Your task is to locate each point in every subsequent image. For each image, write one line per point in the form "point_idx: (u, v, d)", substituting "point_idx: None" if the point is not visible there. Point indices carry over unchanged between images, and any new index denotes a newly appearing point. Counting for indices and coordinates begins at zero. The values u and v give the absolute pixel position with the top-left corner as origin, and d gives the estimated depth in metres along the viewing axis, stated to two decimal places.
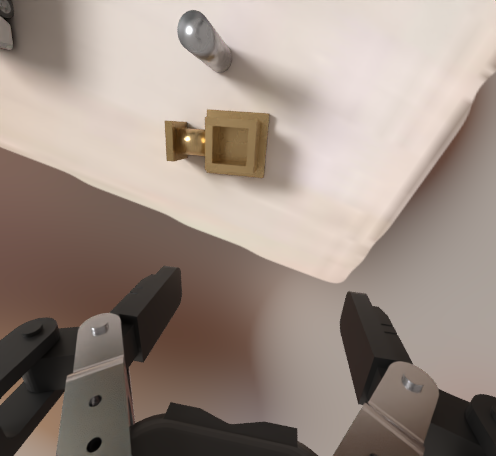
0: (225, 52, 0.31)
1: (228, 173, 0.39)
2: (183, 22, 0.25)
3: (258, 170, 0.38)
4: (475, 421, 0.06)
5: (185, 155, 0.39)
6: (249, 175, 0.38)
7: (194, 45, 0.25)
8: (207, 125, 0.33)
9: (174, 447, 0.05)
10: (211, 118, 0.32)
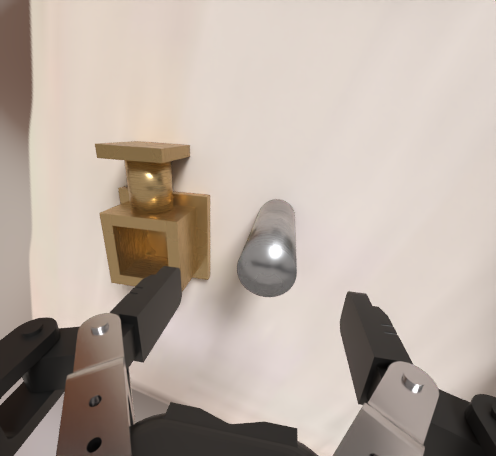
0: None
1: None
2: (280, 256, 0.14)
3: None
4: (475, 421, 0.06)
5: None
6: None
7: (246, 270, 0.14)
8: (165, 224, 0.20)
9: (174, 447, 0.05)
10: (176, 231, 0.20)
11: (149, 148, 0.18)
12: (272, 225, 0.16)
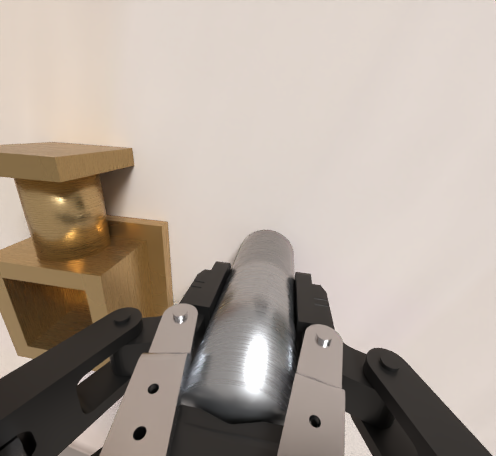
0: None
1: None
2: (263, 408, 0.06)
3: None
4: (372, 375, 0.07)
5: None
6: None
7: None
8: (82, 279, 0.12)
9: (174, 447, 0.05)
10: (100, 290, 0.12)
11: (35, 156, 0.10)
12: (252, 304, 0.09)
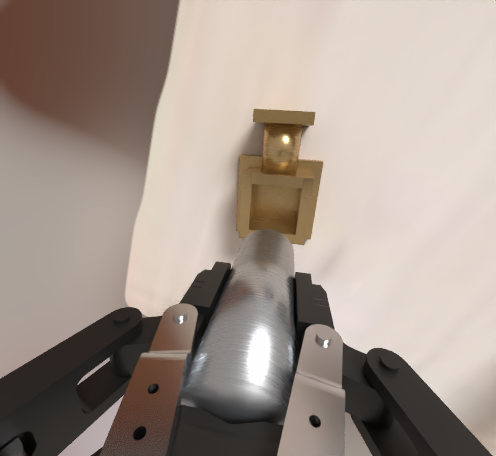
0: None
1: (239, 187, 0.29)
2: (264, 407, 0.06)
3: None
4: (372, 375, 0.07)
5: None
6: (238, 214, 0.30)
7: None
8: (303, 180, 0.23)
9: (174, 447, 0.05)
10: (311, 187, 0.23)
11: (303, 112, 0.21)
12: (252, 303, 0.09)
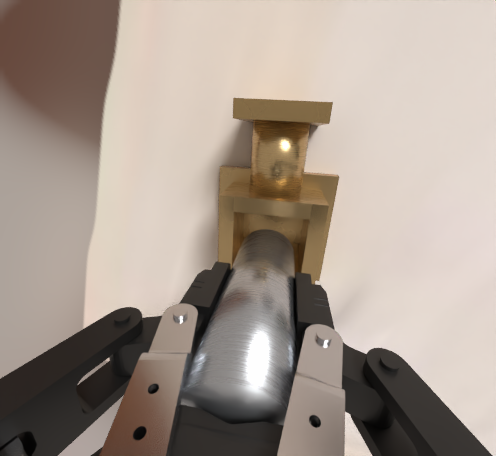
0: None
1: None
2: (264, 407, 0.06)
3: None
4: (372, 375, 0.07)
5: None
6: None
7: None
8: (311, 209, 0.15)
9: (174, 447, 0.05)
10: (324, 218, 0.15)
11: (313, 102, 0.13)
12: (252, 303, 0.09)
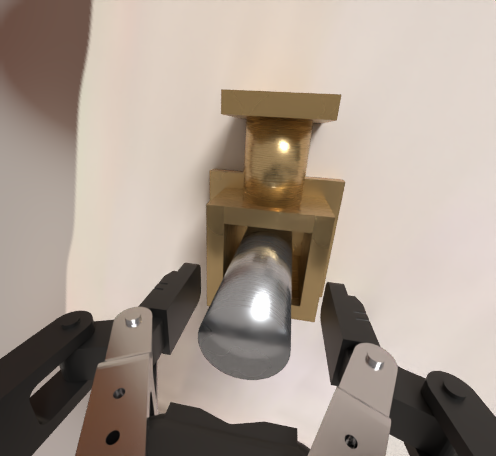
0: None
1: None
2: (265, 325, 0.08)
3: None
4: (430, 397, 0.07)
5: (245, 118, 0.15)
6: None
7: (212, 341, 0.09)
8: (314, 221, 0.13)
9: (174, 447, 0.05)
10: (329, 232, 0.13)
11: (317, 95, 0.11)
12: (256, 263, 0.11)
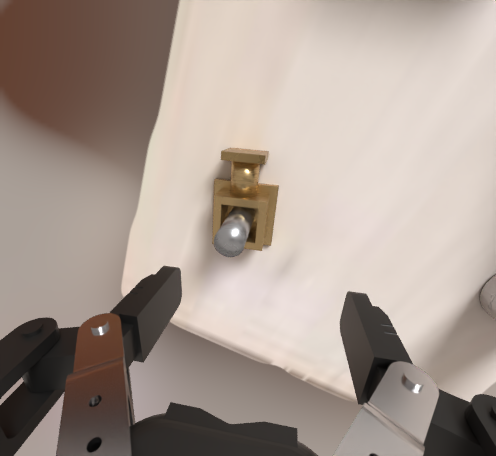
0: None
1: None
2: (235, 234, 0.26)
3: None
4: (475, 421, 0.06)
5: None
6: None
7: (218, 242, 0.27)
8: (259, 203, 0.31)
9: (174, 447, 0.05)
10: (265, 208, 0.31)
11: (257, 155, 0.29)
12: (234, 219, 0.29)
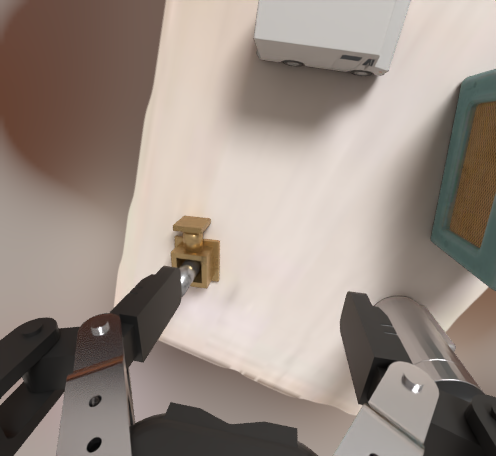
0: None
1: None
2: None
3: None
4: (475, 421, 0.06)
5: None
6: None
7: None
8: (201, 257, 0.45)
9: (174, 447, 0.05)
10: (206, 261, 0.45)
11: (196, 228, 0.43)
12: (182, 270, 0.43)
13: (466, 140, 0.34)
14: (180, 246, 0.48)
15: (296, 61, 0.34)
